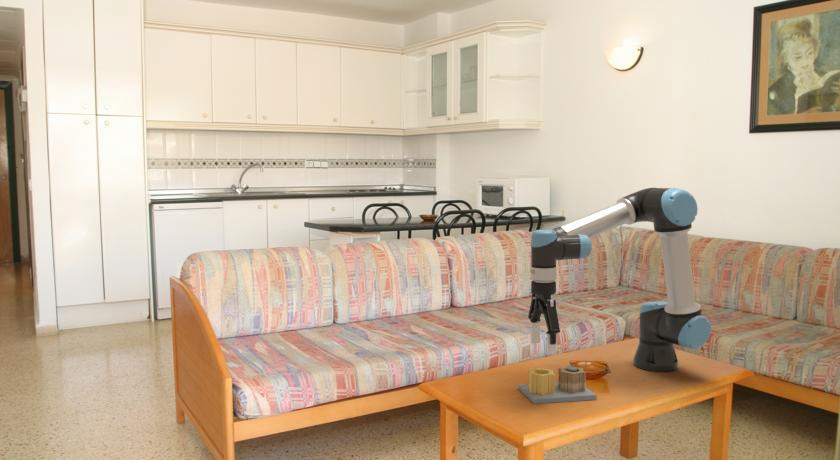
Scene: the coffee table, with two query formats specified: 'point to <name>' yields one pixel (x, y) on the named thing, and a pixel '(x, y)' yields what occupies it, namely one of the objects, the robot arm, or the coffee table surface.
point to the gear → (572, 380)
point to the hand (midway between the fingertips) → (543, 348)
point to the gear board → (558, 394)
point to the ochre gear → (541, 381)
